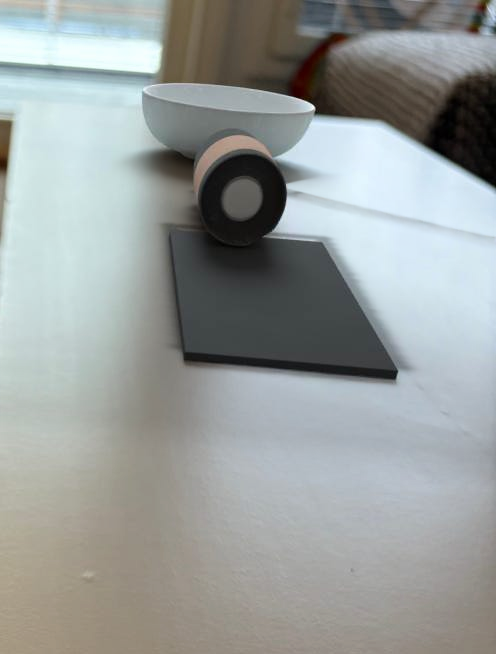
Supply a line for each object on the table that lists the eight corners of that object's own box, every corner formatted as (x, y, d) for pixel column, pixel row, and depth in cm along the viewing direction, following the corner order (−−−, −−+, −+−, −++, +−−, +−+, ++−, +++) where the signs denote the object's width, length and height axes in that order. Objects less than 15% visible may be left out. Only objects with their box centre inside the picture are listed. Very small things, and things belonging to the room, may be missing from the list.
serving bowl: (269, 185, 111) (282, 117, 106) (106, 156, 119) (113, 92, 115) (324, 159, 125) (338, 99, 121) (176, 135, 133) (184, 77, 129)
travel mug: (204, 115, 98) (214, 140, 81) (277, 135, 98) (302, 164, 81) (180, 196, 102) (185, 235, 85) (250, 215, 102) (269, 257, 86)
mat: (169, 235, 90) (170, 229, 90) (320, 248, 90) (322, 241, 89) (183, 360, 65) (185, 351, 64) (396, 379, 64) (398, 370, 64)
